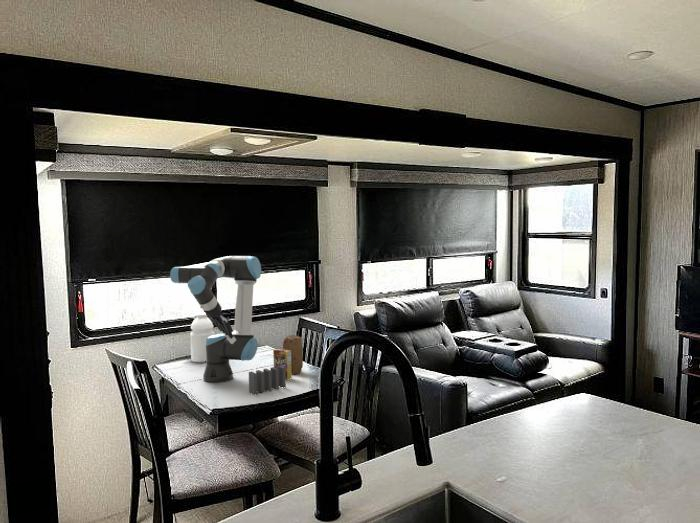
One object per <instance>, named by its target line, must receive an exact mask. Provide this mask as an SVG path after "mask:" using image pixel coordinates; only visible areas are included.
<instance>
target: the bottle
mask: <svg viewBox="0 0 700 523" xmlns="http://www.w3.org/2000/svg"><path fill="white" fill-rule="evenodd" d="M195 317H196V318H195V319H193V321H192V323H191V325H190V329H191V332H189V333H190V334H189V336H190V360H191V362H193V363H206V362H205V361H206V339H207V337H209V336H212V335H215V331H214V330H213V328H214V323H213V321H212V320H211V319H210V318H209V317H207V315H206V314H205V312H197V313H195Z"/></svg>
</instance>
